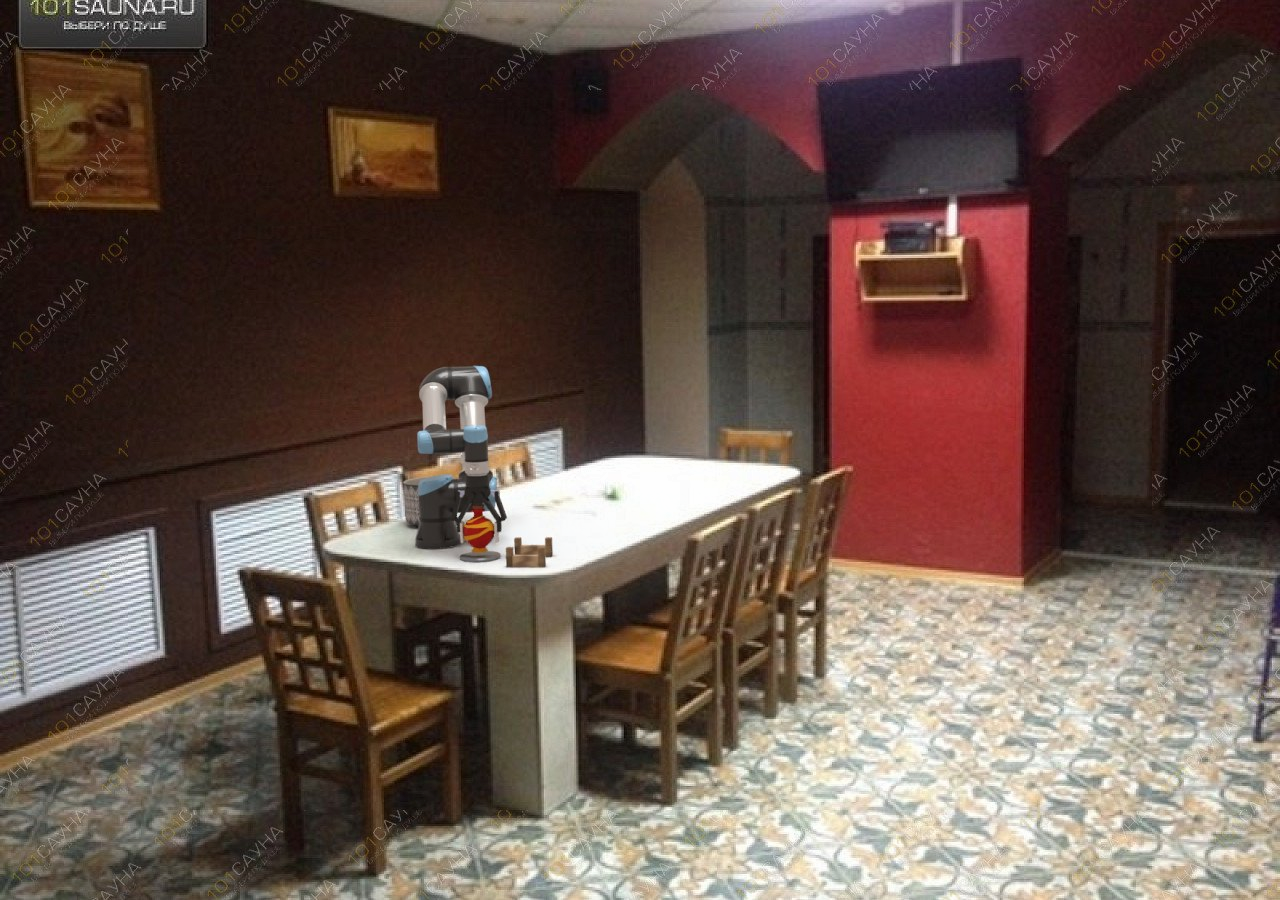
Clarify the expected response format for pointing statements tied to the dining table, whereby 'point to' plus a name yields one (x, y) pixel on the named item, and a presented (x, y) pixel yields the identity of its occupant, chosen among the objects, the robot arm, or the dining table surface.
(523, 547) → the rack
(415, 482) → the planter
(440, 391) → the robot arm
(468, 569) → the dining table surface
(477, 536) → the potion bottle
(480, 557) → the coaster
